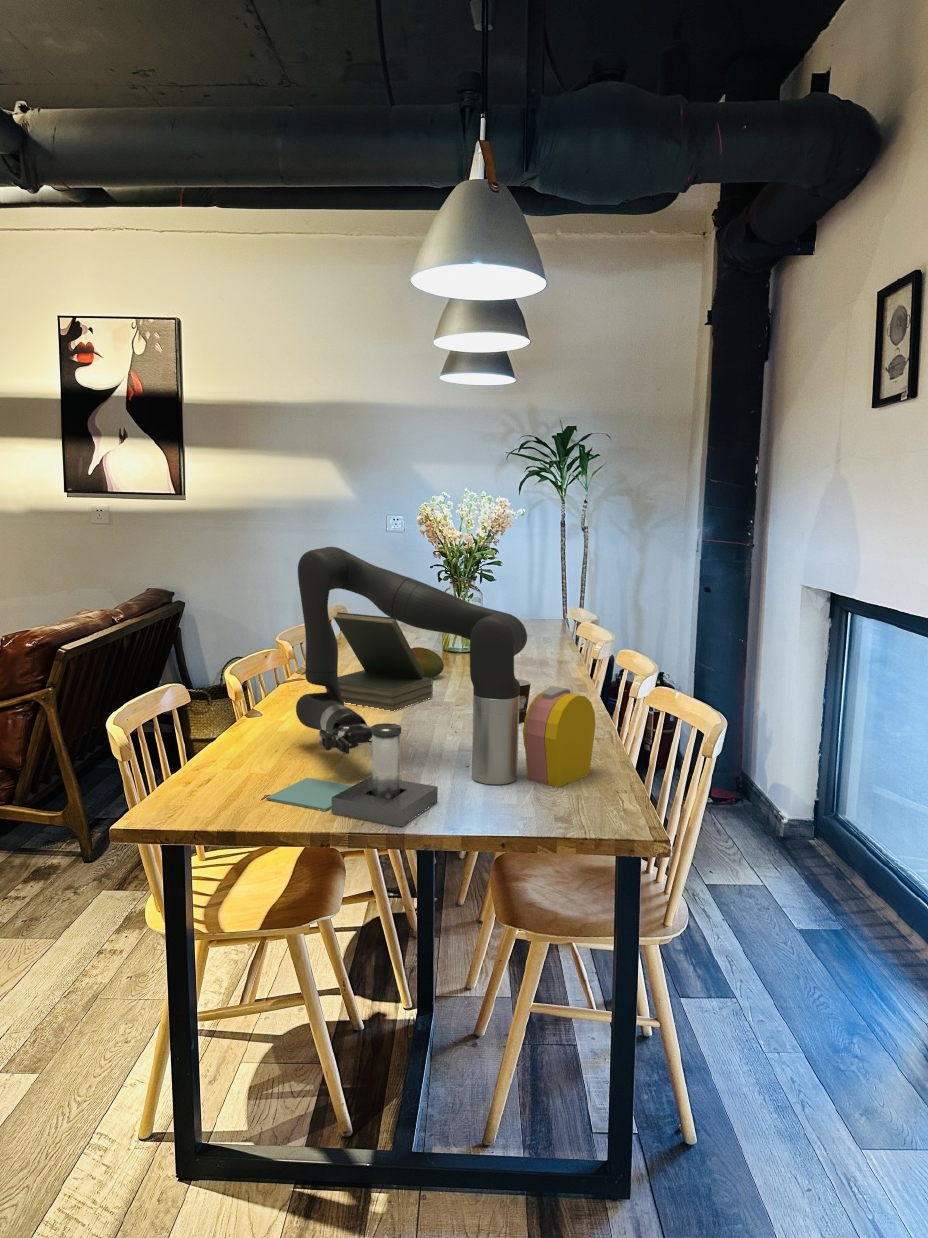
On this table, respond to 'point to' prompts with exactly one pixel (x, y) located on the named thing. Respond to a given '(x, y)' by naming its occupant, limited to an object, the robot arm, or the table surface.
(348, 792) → the collar block
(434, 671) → the fruit
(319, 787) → the rubber mat
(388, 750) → the tumbler with black lid
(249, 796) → the table surface
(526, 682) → the coffee mug
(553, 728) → the yellow and pink lunchbox
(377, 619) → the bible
